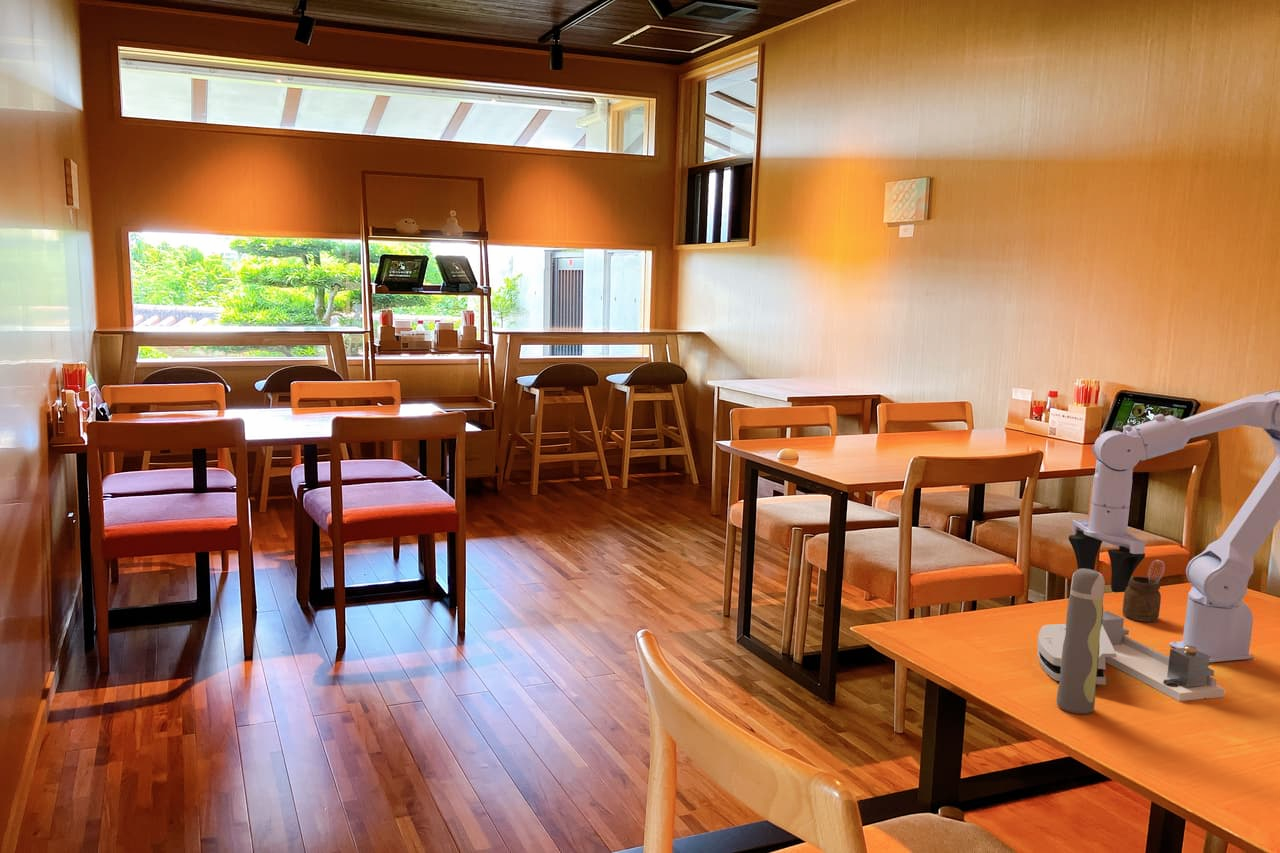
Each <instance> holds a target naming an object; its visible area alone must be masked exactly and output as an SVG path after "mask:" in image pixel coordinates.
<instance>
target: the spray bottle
mask: <svg viewBox="0 0 1280 853" xmlns="http://www.w3.org/2000/svg"><path fill="white" fill-rule="evenodd" d="M1105 582H1106V581H1105V577H1104V576H1103V574H1102V573H1101V572H1098V571H1097V570H1095V569H1094V570H1091V569H1085V568H1081V569H1078V568H1077V569H1076V570H1075V571H1074V572H1073V573H1072V577H1071V585H1070V590H1069V591H1070V593H1069V598H1068V601H1067V602H1068V603H1067V610H1066V616H1065V617H1066V619H1065V622H1066V623H1065V624H1066V633H1065V639H1064V643H1063V650H1062V658H1061V672H1060V681H1058V682H1059V683H1058V686H1057V695H1056V704H1057V707H1059V708H1060V709H1062V710H1063V711H1065V712H1067V713H1068V712H1069V713H1072V714H1074V715H1075V714H1077V715H1088V714H1091V713H1092V712H1094V709H1095V701H1096V685H1097V684H1096V676H1097V671H1098V661H1099V649H1100V645H1099V639H1100V630H1101V626H1102V617H1103V612H1104V603H1103V602H1104V595H1105V584H1106V583H1105Z"/></svg>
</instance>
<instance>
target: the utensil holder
mask: <svg viewBox="0 0 1280 853" xmlns="http://www.w3.org/2000/svg"><path fill="white" fill-rule="evenodd" d="M1154 562H1156V563H1157V564H1156V563H1154ZM1161 563H1162V564H1161ZM1155 564H1156V567H1155V570H1154V566H1155ZM1158 564H1159V566H1158V569H1157V565H1158ZM1160 565H1161V566H1162V567H1160ZM1165 565H1166V564H1165V563H1164V562H1163V561H1162V560H1159V559H1158V560H1157V559H1155V560H1153V561H1152V562H1151V564H1150V567H1149V568H1148V572H1147V574H1148V577H1147V576H1142V575H1140V576H1139V575H1133V574H1134V573H1133V574H1132V576H1131V578H1130V580H1129V583H1128V585H1127V587H1126V590H1125V592H1123V593H1124V594H1123V602H1122V614H1123V617H1125V618H1127V619H1129V620H1131V621H1136V622H1140V623H1141V622H1142V623H1154V622H1156V621H1158V619H1159V616H1160V609H1161V601H1162V600H1161V599H1162V598H1161V597H1162V595H1161V593H1160V591H1159V590H1160V589H1161V583H1160V579H1162V576H1163V575H1164V572H1165V571H1164V570H1165V569H1166V567H1165ZM1159 567H1160V571H1159ZM1151 568H1152V569H1151ZM1153 570H1154V573H1153ZM1156 570H1157V572H1156ZM1158 571H1159V573H1160V576H1159V577H1158V578H1153V577H1154V576H1157V575H1158ZM1161 571H1162V572H1161ZM1155 572H1156V574H1155ZM1152 573H1153V575H1152ZM1151 575H1152V576H1151Z"/></svg>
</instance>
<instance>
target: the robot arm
mask: <svg viewBox="0 0 1280 853" xmlns="http://www.w3.org/2000/svg"><path fill="white" fill-rule="evenodd" d="M1239 426H1249V427H1254V428H1259V429H1263V431H1264V432H1265V433H1266V434H1267V435H1268V436H1269V437H1270V442H1271V443H1272V445H1273V448H1274V451H1275V453H1276V456H1275V458H1274V459H1273V461H1272V462H1271V463H1270V465H1269V467H1268V468H1267V469H1266V471H1265V472H1264V474H1263V476H1262V477H1261V478H1260V480H1259V481H1258V482H1257V484H1256V486H1255V487H1254V489H1253V490H1252V492H1251V493H1250V494H1249V496H1248V498H1247V499H1246V500H1245V501H1244V503H1243V505H1242V506H1241V508H1240V509H1239V510H1238V512H1237V513H1236V515H1235V517H1234V518H1233V519H1232V521H1231V522H1230V524H1229V525H1228V527H1226V529H1225V531H1224V533H1223V534H1222V535H1221V536H1220V538H1218V539H1217V540H1215V541H1214V540H1213V541H1212V542H1211V543H1209V544H1207V547H1206V548H1205V550H1203V551H1202V552H1201V553H1199V554H1198V555H1196V556H1194V557H1193V558H1192V559H1191V560H1189V562H1188V564H1187V566H1186V569H1185V574H1186V577H1187V580H1188V582H1189V583H1190V584H1191V588H1190V590H1189V591H1188V594H1187V601H1186V602H1187V603H1186V610H1185V616H1184V618H1185V619H1184V628H1183V634H1182V640H1179V641H1169V642H1168V643H1169V646H1170V647H1173V648H1174V649H1175V648H1184V646H1185V645H1189V646H1194V647H1196V648H1197V651H1199V652H1202V653H1204V654H1206V655H1208V656H1210V659H1209V663H1218V662H1220V663H1221V662H1228V661H1238V660H1239V661H1240V660H1251V659H1253V658H1254V654H1253V655H1252V654H1250V647H1251V640H1252V632H1253V625H1254V624H1253V623H1254V617H1253V612H1252V610H1251V608H1250V607H1249V605H1248V604H1247V603H1246V602H1244V601H1243V599H1244V598H1245V596H1246V594H1247V591H1248V585H1249V584H1248V583H1249V580H1250V579H1251V576H1253V574H1254V568H1255V567H1254V562H1255V561H1254V560H1255V559H1254V558H1255V556H1256V554H1257V553H1258V551H1259V550H1260V548H1261V547H1262V546H1263V544H1264V543H1265V541H1266V540H1267V538H1268V537H1269V535H1270V534H1271V533H1272V531H1273V530H1274V528H1275V527H1276V526H1277V524H1278V523H1279V521H1280V390H1278V389H1277V390H1271V391H1266V392H1265V393H1262V394H1261V393H1258V394H1252V395H1251V394H1250V395H1248V396H1246V397H1244V398H1243V397H1242V398H1241V399H1238V400H1237V399H1236V400H1235V401H1231V402H1229V403H1225V404H1223V405H1220V406H1217V407H1214V408H1211V409H1208V410H1205V411H1203V412H1199V413H1197V414H1194V415H1191V416H1188V417H1186V418H1185V417H1184V418H1183V419H1181V418H1178V417H1176V416H1174V415H1171V414H1169V415H1164V414H1162V413H1159V414H1155V415H1153V420H1152V419H1151V420H1149V421H1145V422H1143V423H1140V424H1136V425H1133V426H1131V425H1130V424H1125V425H1123V426H1122V429H1123V430H1122V432H1121V431H1119V430H1107V431H1104V432H1102V433H1101V434H1099V435H1100V436H1098V437H1097V438H1096V440H1095V441H1094V444H1092V446H1091V448H1092V449H1091V450H1092V454H1093V456H1094V457H1095V459H1096V462H1095V469H1094V470H1095V472H1094V474H1093V483H1092V490H1091V491H1092V492H1091V500H1090V502H1091V503H1090V511H1089V519H1088V520H1089V521H1088V520H1084V519H1072V521H1071V530H1070V531H1071V532H1073V533H1074V534H1071V535H1069V536H1068V541H1069V543H1070V545H1071V547H1072V549H1073V552H1074V555H1075V559H1076V564H1077V565H1076V566H1077V570H1078V569H1081V568H1085V569H1091V570H1095V568H1096V561H1097V556H1098V553H1099V551H1100V547H1101V546H1102V543H1103V542H1104V543H1107V544H1110V545H1112V546H1115V547H1118V548H1117V549H1116V548H1115V549H1114V548H1113V549H1108V550H1107V554H1108V557H1109V561H1110V566H1111V567H1110V568H1111V569H1110V570H1111V579H1110V580H1111V582H1110V586H1111V587H1110V589H1111V592H1113V593H1125V590H1126V588H1127V587H1128V586H1129V585H1128V583H1129V580H1130V578H1131V576H1132V574H1134V572H1135V570H1136V569H1137V567H1138V566H1139V565H1140V563H1141V562H1142V561H1143V560H1144V559H1145V557H1146V553H1145V549H1146V548H1145V547H1146V541H1144V540H1141V539H1139V538H1138V537H1136V536H1135V535H1132V534H1131V533H1129V532H1127V531H1128V524H1129V523H1128V522H1129V516H1130V515H1129V514H1130V505H1131V498H1132V495H1131V494H1132V488H1133V486H1132V485H1133V474H1134V473H1133V472H1134V467H1136V466H1137V465H1138V463H1139V462H1140V461H1142V462H1143V461H1146V460H1150V459H1153V458H1156V457H1160V456H1164V455H1166V454H1170V453H1172V452H1176V451H1179V450H1183V449H1184V448H1185V446H1186V445H1187V443H1188V442H1189V441H1190V440H1191V439H1193V438H1196V437H1201V436H1205V435H1210V434H1212V433H1217V432H1221V431H1223V430H1228V429H1233V428H1236V427H1239Z"/></svg>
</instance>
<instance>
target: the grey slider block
mask: <svg viewBox="0 0 1280 853" xmlns="http://www.w3.org/2000/svg"><path fill="white" fill-rule="evenodd" d="M1168 657H1169V665H1168V674H1167V677H1168V678H1170V679H1168V680H1164V683H1166V684H1173V683H1180V684H1182V685H1184V686H1186V687H1190V686H1200V685H1206V683H1207V676H1209V677H1213V676H1214V675H1215V670H1214V669H1211V668H1209V666H1210V662H1209V659H1210V656H1208V655H1206V654H1204V653H1202V652H1199V651H1197V648H1196V647H1194V646H1189V645H1185V646H1184V648H1175V647H1174V648H1170V651H1169V656H1168Z"/></svg>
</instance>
